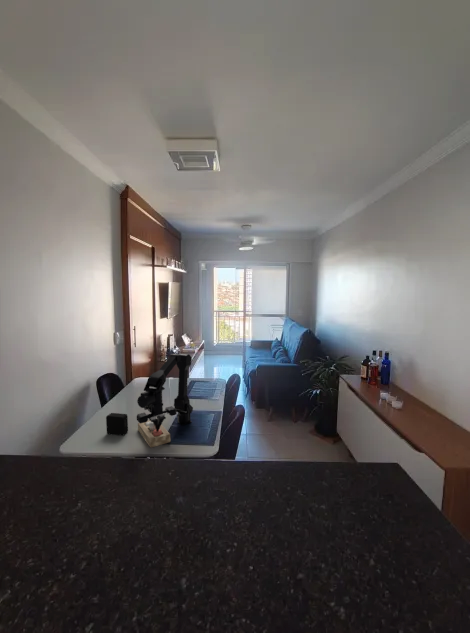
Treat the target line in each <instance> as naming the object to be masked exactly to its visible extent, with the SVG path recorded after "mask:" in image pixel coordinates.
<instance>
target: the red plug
mask: <svg viewBox="0 0 470 633" xmlns="http://www.w3.org/2000/svg"><path fill="white" fill-rule="evenodd" d="M159 435H162V430H161V429H159V431H156V430H154V431H153V436H154V437H155V436H159Z"/></svg>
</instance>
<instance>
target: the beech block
mask: <svg viewBox="0 0 470 633" xmlns="http://www.w3.org/2000/svg"><path fill="white" fill-rule="evenodd" d="M149 421H150V420H149V419H148V421H147V422H149ZM160 429H161V430H162V435H159V436H155V437H154V436H153V431H149V426H147V427H146V422H145V423H139V422H137V430H138V432H139V434H140V435H141V437H142V438H143V439H144V440H145V442H146V443H147V444H148V446H149V447H150V448H154V447H159V446H161V445H164V444H165V445H166V444H168V443H171V433H170V432H169V431H168V430H167V429H166V428H165V426H163V424H161V426H160Z"/></svg>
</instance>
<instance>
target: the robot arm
mask: <svg viewBox="0 0 470 633" xmlns="http://www.w3.org/2000/svg"><path fill="white" fill-rule="evenodd" d="M192 360H193V359H192V356H191V354H188V353H170V355H169V358H167V360H166V361H165V362H164V363H163V365H162V366H160V368H159V369H158V370H157V371H155V372H153V373H151V375H150V376H148V378H147V381H146V383H145V385H144V388H143V391H144V392H140V396H138V397H137V400H136V402H137V405H138V406H139V407H140V408H141V409H144V411H148V412H149V413H146V412H141V413H137V415H136V421H137V423H145V422H147V421H149V420H150V421H151V422H153V423H154V426H155V428H156V431H159V429H160V426H161V425H163V422H164V421H165V420H166V419H167V417H166V415H170V416H171V417H172V416H175V415H176V416H177V420H176V422H177V423H179V425H181V426H185V425H188V424H191V423H192V420H191V414H192V413H193V411H194V407H193V406H192V405H191V402H190V398H189V397H188V376H189V369H190V367H191V365H192ZM175 366H176V367H177V368H178V385H177V387H178V390H177V396H176V398H174V400H173V406H167V407H165V409H164V410H163V406H164V403H163V391H164V390H166V388H165V387H164V385H165V383H166V381H167V376H168V375H169V373H170V372H171V371H172V370H173V368H174V367H175Z"/></svg>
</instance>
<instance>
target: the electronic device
mask: <svg viewBox="0 0 470 633" xmlns="http://www.w3.org/2000/svg"><path fill="white" fill-rule="evenodd" d="M105 420H106V421H105V424H106V434H108V435H111V434H112V435H113V436H125V434H127V433H128V432H129V423H128V414H126V413H117V412H111V413H109V414H108V415H106V417H105Z"/></svg>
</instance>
